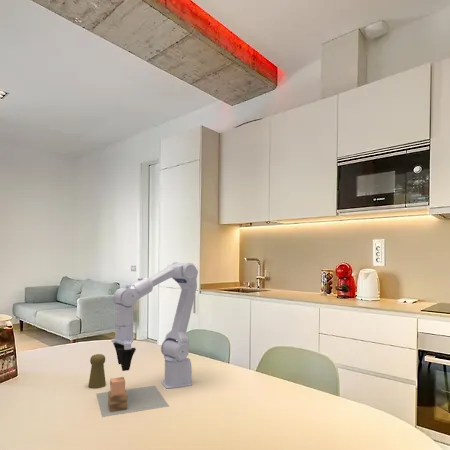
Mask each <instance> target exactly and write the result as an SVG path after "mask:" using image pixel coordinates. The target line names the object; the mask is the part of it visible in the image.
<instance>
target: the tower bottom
mask: <svg viewBox="0 0 450 450" xmlns="http://www.w3.org/2000/svg"><path fill="white" fill-rule="evenodd" d="M108 407H109V411H110V412H115V411H121V410H127V402H124V403H118V404H111V405H110V403H109V400H108Z"/></svg>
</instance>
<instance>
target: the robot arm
mask: <svg viewBox="0 0 450 450" xmlns="http://www.w3.org/2000/svg"><path fill="white" fill-rule="evenodd" d="M198 273H199V270H198V268H197V267H196V265H195V264H194V263H191V262H186V263H185V262H178V261H177V262H175V261H174V262H173V263H171V264H168V265H167V266H166V267H164V268H163V269H161V270H159V271H158V272H156V273H155V274H153V275H152V276H150V277H146V276H145V277H142V276H140V277H138V278H137V280H136V281H134V282H132V283H128V284H126V285H125V287H121V288H118V289H116V290H115V292H114V293H113V296H112V297H111V298H112V299H111V300H112V302H113V303H114V305H115V321H114V322H115V329H114V331H115V333H114V334H115V336H114V338H111V342H112V343H113V347H114V349H115V353H116V358H117V363H118V365H120V367H121V371H122V372H125V371H130V369H131V364H132V360H133V357H134V354H135V352H136V350H137V348H136V347H132V343H133V342H134V340H135V337H134V306H135V305H136V303H137V301H138V300H139V299H141V298H143V297H144V296H146V295H148V294H150V293H151V292H153V288H154V287H155V286H158V285H159V284H161V283H163V282H165V281H167V280H169V279H173V280H174V281H175V282H176V283H177V284H178V286H179V287H180V289H181V291H180V295H179V299H178V303H177V306H176V310H175V314H174V319H173V324H172V327H171V330H170V331H168V333H167V334H166V335H165V338H164V340H163V341H162V342H161V345H160V352H161V354H162V355H163V359H164V380H161V384H162V385H163V386H164V387H165V389H167V390H170V389H176V388H183V387H184V388H185V387H189V386H193V384H192V377H193V376H192V372H193V371H192V369H193V368H192V362H191V359H190V358H189V357H188V355H189V353H190V347H189V346H190V339H189V337H188V335H187V330H188V327H189V322H190V318H191V314H192V310H193V305H194V301H195V297H196V293H197V289H198V284H197V282H198V281H197V280H198V279H197V278H198Z"/></svg>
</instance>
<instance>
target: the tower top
mask: <svg viewBox="0 0 450 450" xmlns="http://www.w3.org/2000/svg"><path fill="white" fill-rule="evenodd" d="M107 392H108V400H109V403H110V405H111V404H118V403H124V402H127V393H126V391H125V394H124V395H117V396H111V393H110V390H108V391H107Z"/></svg>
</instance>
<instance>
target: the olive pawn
mask: <svg viewBox="0 0 450 450" xmlns="http://www.w3.org/2000/svg"><path fill="white" fill-rule="evenodd" d="M89 362H90V365H91V367H90V374H89V380H88V388H89V389H92V390H93V389H95V390H96V389H102V388H104V387H106V386H107V384H106V375H105V374H106V373H105V372H106V371H105V365H104V364H105V362H106V356H105V355H104V354H102V353H97V354H93V355H92V356H90V360H89Z"/></svg>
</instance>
